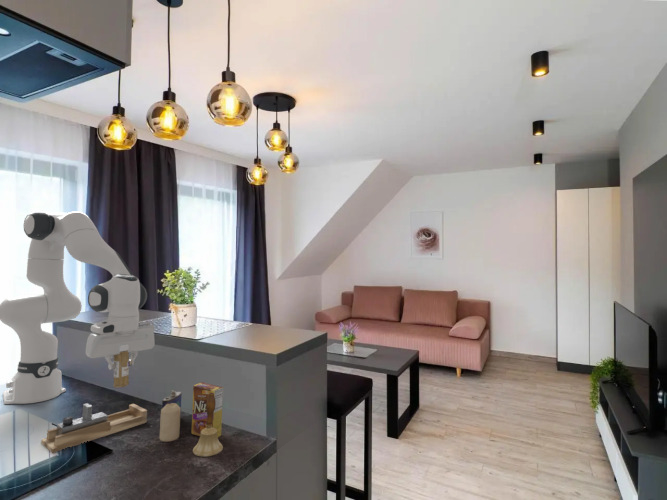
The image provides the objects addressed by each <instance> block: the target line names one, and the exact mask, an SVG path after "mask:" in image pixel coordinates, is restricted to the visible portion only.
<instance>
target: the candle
mask: <svg viewBox="0 0 667 500" xmlns="http://www.w3.org/2000/svg"><path fill="white" fill-rule="evenodd" d="M180 410H181V411H182V407H181V408H180V407H179V406H178V405H177V404H176V403H171V404H166V405H165V406H164V407H163V408H162V407H161V409H160V421H159V423H160V424H159V425H160V426H159V441H160V442H167V443H168V442H173V441H176V440H177V439H179V438H180V430H181V429H180V427H181V418H180Z"/></svg>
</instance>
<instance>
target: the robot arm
mask: <svg viewBox="0 0 667 500" xmlns="http://www.w3.org/2000/svg"><path fill="white" fill-rule="evenodd" d="M23 232H24V233H25V235H26V236H27V237H28V238H29V239H31V241H30V244H29V248H28V254H27V262H26V264H27V265H26V267H27V268H26V279H27V280H28V281H29V282H30V283H31V284H33V285H35V286H37V287H41V288H42V289H43V294H31V295H29V294H28V295H25V294H24V295H17V296H13V297H7V298H5V299H4V300H3V301H1V303H0V322H2V323H3V324H5V325H6V326H8V327H9V328H11V329H12V330H13V331H14V332H15V334H17V336H18V339H19V342H20V361H19V362H18V364H17V370H16V371H17V372H16V373H15V374H14V376H12V378H11V380H10V381H7V382H6V383H5V384H6V390H3V392H2V397H3V403H4V405H14V404H15V405H18V404H19V405H23V404H24V405H26V404H34V403H40V402H46V401H49V400H52V399H55V398H57V397H59V396H60V394H63V393H65V392H66V390H67V389H66V388H65V387H63V384H62V382H63V381H62V378H63V376H62V371H61V370H60V369H58V367H59V358H58V345H59V340H58V337H57V336H56V335H55V334H53V333H51V332H49V331H45V330H42V324H49V323H50V324H51V323H59V322H67V321H70V320H73V319H76V318H77V317H78V316H79V315H80V314H81V311H82V302H81V301H82V300H80V298H79V297H78V296H77V295H76V294H74V293H72V291H70V290H69V289H68V287H67V285H66V283H65V279H64V261H65V248H66V250H67V252H68V254H69V255H70V256H71V257H72V258H73V259H74V260H76V261H78V262H81V263H83V264H89V265H93V266H97V267H99V268H102V269H104V270H106V271H108V272H109V273H110V274H111V275H112V277H111V279H109V280H107V281H105V282H102V283H100V284H95V285H94V286H93V287H92V288H91V289H90V290H89V293H88V294H87V295H88V296H87V303H88V306H89V307H90V309H91V310H92V311H94V312H98V313H108V316H107V318H105V320H102V321H100V322H96V323H94V324H91V326H90V331H91V333H90V334H89V335H88V337H87V341H86V346H85V355H86V356H87V357H88V358H89V359H100V358H104V359H105V361H106V362H107V364H108V366H107V367H108V370H111V371H112V370H114V369H115V368H116V367H115V366H116V363H114V361H112V359H114V355H117V354H120V351H119V348H120V346H122V345H129V350H127V351H128V353H129V354H130V357H129V367H132V366H134V364H135V363H134V362H135V360H136V358H137V356H138V355H139V354H138V353H139V352H141V351H146V350H152V349H153V348H154V347H155V344H156V343H155V324H154V323H153V322H151V321H145V322H140V309H141V308H142V307H143V306H144V305H145V304H146V302H147V299H148V292H147V289H146V288H145V286H144V285H143V284H142V283H141V282H140V280H139V278H138V277H137V276H135V275H134V273H133V272H132V271H131V269H130V268H129V267H128V265H127V264H126V262H125V261H124V259H123V258H122V256H121V255H120V254H119V252H117V251H116V250H115V249H113V248H112V247H111V246H110V245H109V244H108V243H107V242H106V241H105V240H104V238H102V236H101V235H100V233H99V230H98V228H97V227H96V225H95V223H94V222H93V220H92V219H91V218H90V217H89V216H88V215H87V214H86V213H84V212H81V211H71V212H68V213H67V212H55V211H54V212H51V211H44V210H42V211H41V210H40V211H31V212H29V213H28V214H27V215H26V217H25V218H24V221H23Z"/></svg>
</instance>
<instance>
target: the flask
mask: <svg viewBox="0 0 667 500" xmlns="http://www.w3.org/2000/svg"><path fill="white" fill-rule="evenodd" d="M171 403H176V404H177V405H178V406H179V407H180V408H181V410H180V419H181V414H182V412H181V411H182V391H177V390H173V389H172V390H171V393H170V395H169V396H165V397H164V398H163V399H162V400H161V405H162V406H161V409H162V408H163V407H164V406H165V405H166V404H171Z"/></svg>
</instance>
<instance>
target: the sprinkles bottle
mask: <svg viewBox="0 0 667 500" xmlns="http://www.w3.org/2000/svg"><path fill="white" fill-rule="evenodd" d="M127 350H129V345H122V346H120V348H119V351H120V354H117V355H113V362H114V363H116V366H115V367H116V368H115V369H113V375H112V376H113V388H124V387H127V386H128V385H130V384H129V383H130V382H129V378H130V377H129V376H130V375H129V373H130V366H129V359H130V357H129V356H130V355H129V354H130V352H129V353H128V351H127Z"/></svg>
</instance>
